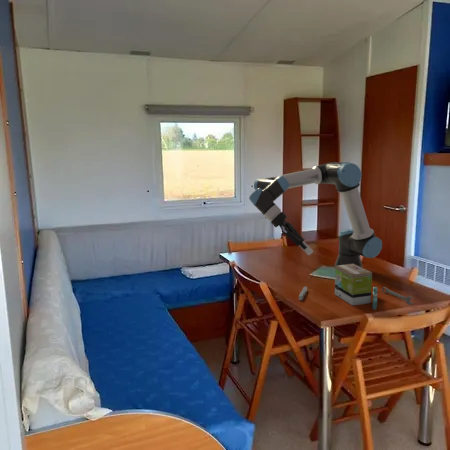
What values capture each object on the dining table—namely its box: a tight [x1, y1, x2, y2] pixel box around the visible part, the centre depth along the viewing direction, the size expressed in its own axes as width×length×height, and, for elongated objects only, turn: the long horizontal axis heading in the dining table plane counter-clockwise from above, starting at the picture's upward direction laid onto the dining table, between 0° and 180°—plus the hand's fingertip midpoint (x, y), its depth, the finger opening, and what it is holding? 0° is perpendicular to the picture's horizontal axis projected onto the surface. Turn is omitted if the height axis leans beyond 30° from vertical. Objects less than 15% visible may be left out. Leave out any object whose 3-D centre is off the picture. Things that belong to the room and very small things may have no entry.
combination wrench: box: [381, 286, 414, 306], centre depth 193 cm, size 4×1×20 cm
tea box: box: [334, 264, 373, 306], centre depth 192 cm, size 15×10×15 cm, turn 17°
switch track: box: [298, 286, 379, 310], centre depth 193 cm, size 16×34×5 cm, turn 70°
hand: (311, 253), depth 194 cm, fingers closed
